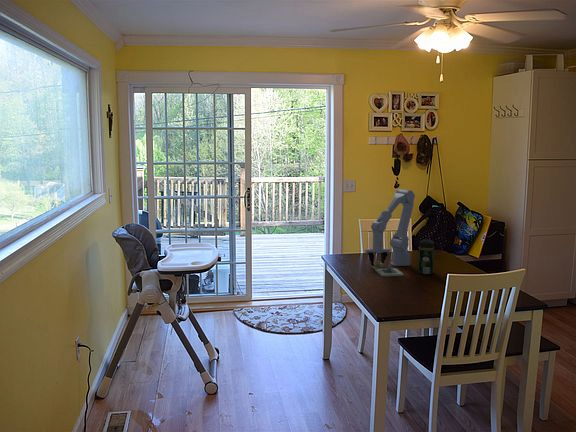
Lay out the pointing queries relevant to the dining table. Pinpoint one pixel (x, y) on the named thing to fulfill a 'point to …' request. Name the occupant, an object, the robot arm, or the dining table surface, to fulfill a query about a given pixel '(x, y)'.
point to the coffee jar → (426, 257)
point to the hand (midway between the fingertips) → (377, 265)
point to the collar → (377, 265)
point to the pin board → (389, 271)
